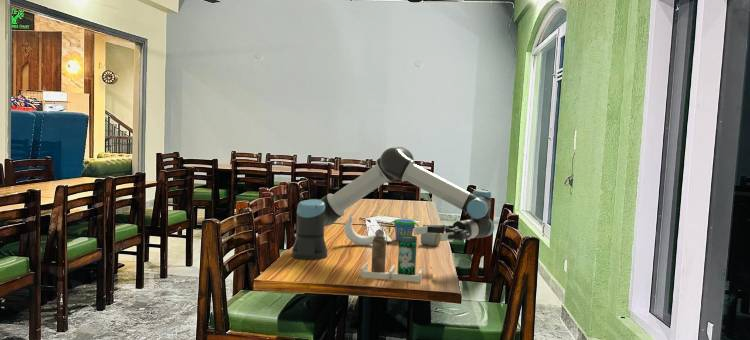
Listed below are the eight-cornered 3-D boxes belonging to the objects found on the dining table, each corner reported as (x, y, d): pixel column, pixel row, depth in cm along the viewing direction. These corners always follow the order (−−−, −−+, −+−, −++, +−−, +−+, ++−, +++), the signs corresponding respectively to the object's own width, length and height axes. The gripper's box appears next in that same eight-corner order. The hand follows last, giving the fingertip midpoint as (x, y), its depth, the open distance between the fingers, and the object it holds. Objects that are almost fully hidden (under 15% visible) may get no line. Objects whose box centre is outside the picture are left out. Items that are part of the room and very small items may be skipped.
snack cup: (420, 240, 281) (421, 220, 281) (416, 243, 271) (417, 223, 271) (391, 237, 286) (392, 217, 285) (386, 240, 276) (386, 220, 275)
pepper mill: (370, 276, 202) (371, 230, 201) (372, 272, 207) (374, 227, 206) (383, 277, 201) (385, 231, 200) (385, 273, 206) (387, 228, 205)
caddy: (360, 279, 200) (360, 268, 200) (364, 273, 210) (365, 262, 210) (420, 284, 197) (421, 273, 197) (422, 277, 207) (423, 267, 206)
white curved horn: (383, 247, 260) (385, 216, 260) (343, 245, 260) (344, 214, 259) (383, 245, 265) (384, 214, 264) (343, 243, 264) (344, 213, 264)
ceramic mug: (435, 247, 264) (436, 231, 264) (419, 245, 268) (420, 229, 267) (442, 244, 274) (443, 229, 273) (427, 242, 277) (428, 227, 277)
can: (395, 278, 201) (397, 237, 200) (400, 274, 207) (402, 234, 206) (411, 280, 199) (413, 239, 198) (416, 276, 204) (418, 236, 203)
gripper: (488, 245, 213) (452, 250, 199) (440, 233, 231) (404, 237, 218) (490, 225, 212) (453, 229, 198) (441, 215, 231) (405, 219, 217)
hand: (427, 234), depth 208 cm, fingers open, 13 cm apart
